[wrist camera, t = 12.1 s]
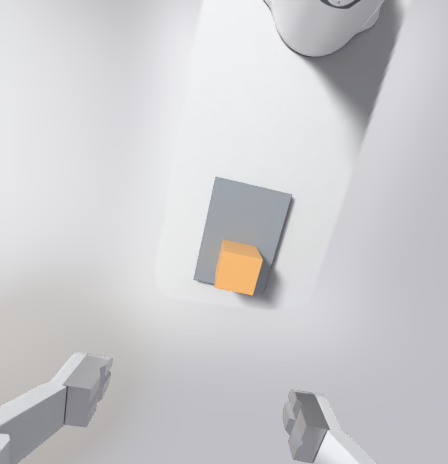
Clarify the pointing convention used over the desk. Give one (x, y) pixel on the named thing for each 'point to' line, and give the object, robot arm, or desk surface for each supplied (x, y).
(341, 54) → the desk surface
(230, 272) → the amber rectangular brick
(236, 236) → the plate
